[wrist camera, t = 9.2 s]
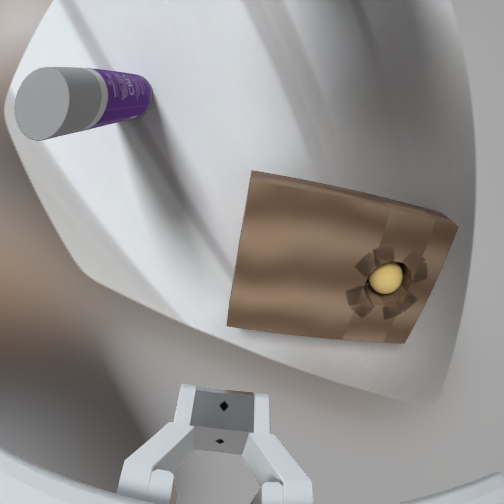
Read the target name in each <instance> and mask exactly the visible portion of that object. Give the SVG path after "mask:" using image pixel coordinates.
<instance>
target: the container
mask: <svg viewBox="0 0 504 504" xmlns="http://www.w3.org/2000/svg"><path fill="white" fill-rule="evenodd" d="M151 101H152V88H151V86H150V84H149V82H148V81H147V80H146V79H145V78H144V77H142V76H139V75H135V74H129V73H123V72H116V71H108V70H100V69H91V68H72V67H43V68H39V69H37V70H35V71H33V72H32V73H30V74H29V75H28V76H27V77H26V78H25V80H24V81H23V82H22V84H21V86H20V88H19V90H18V92H17V95H16V99H15V118H16V122H17V125H18V127H19V129H20V130H21V132H22V133H23V134H24V135H25V136H26V137H28V138H30V139H32V140H36V141H41V140H46V139H50V138H54V137H58V136H62V135H66V134H70V133H75V132H79V131H84V130H88V129H92V128H96V127H100V126H104V125H108V124H112V123H117V122H121V121H126V120H131V119H135V118H137V117H139V116H141V115H143V114H144V113H145V112H146V111H147V109H148V108H149V106H150V104H151Z"/></svg>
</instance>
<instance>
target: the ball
mask: <svg viewBox="0 0 504 504" xmlns="http://www.w3.org/2000/svg"><path fill="white" fill-rule="evenodd" d="M402 277H403V273H402V269H401V267H400V265H399V264H398V263H397V262H395V261H390V262H387V263H384V264H382V265H379V266H378V267H377V268H376V269H375V270H374V271H372V272H371V273H370V274H369V275H368V280H369V283H370V285H371V287H372V288H373V289H374V290H375V291H377V292H379V293H382V294H388V293H392V292H394V291H395V290H396V289H397V288H398V287H399V286H400V284H401V282H402Z"/></svg>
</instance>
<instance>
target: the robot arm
mask: <svg viewBox="0 0 504 504" xmlns="http://www.w3.org/2000/svg"><path fill="white" fill-rule="evenodd" d="M269 403H270V402H269V395H268V394H259V393H252V392H241V391H230V390H219V389H212V388H206V387H199V386H194V385H187V384H182V386H181V389H180V393H179V398H178V403H177V408H176V413H175V418H174V423H172V422H169V423H168V424H167V425H165V426H164V427H163V428H162V429H161V430H160V431H159V432H157V433H156V434H155V435H154V436H153V437H152V438H151V439H149V440H148V441H147V442H146V443H145V444H144V445H143V446H141V447H140V448H139V449H138V450H137V451H135V452H134V453H133V454H132V455H131V456H129V457H128V458H127V459H126V460H125V462H124V466H123V470H122V474H121V478H120V481H119V485H118V489H117V493H116V494H115V493H111V492H108V491H105V490H101V489H98V488H95V487H92V486H89V485H86V484H83V483H80V482H78V481H75V480H72V479H69V478H67V477H64V476H62V475H59V474H57V473H54V472H52V471H49V470H47V469H45V468H43V467H40V466H38V465H36V464H34V463H31V462H29V461H27V460H25V459H23V458H21V457H19V456H17V455H15V454H13V453H11V452H9V451H7V450H6V449H4V448H2V447H0V504H176V499H177V492H176V486H175V480H174V476H173V473H174V472H175V471H176V470H177V468H179V467H180V465H181V464H182V463H183V462H184V461H185V460H186V459H187V458H188V457H189V455H191V453H192V452H193V451H194V449H197V450H206V451H216V452H224V453H232V454H241V455H242V457H243V459H244V461H245V462H246V464H247V466H248V467H249V469H250V470H251V472H252V474H253V475H254V477H255V478H256V480H257V482H258V484H259V485H260V487H261V488H260V489H259V491H258V493H257V494H256V495H255V497H254V498H253V500H252V502H251V504H313V493H312V482H311V480H310V479H309V478H308V476H307V475H306V474H305V473H304V472H303V470H302V469H301V468H300V467H299V465H298V464H297V463H296V461H295V460H294V459H293V458H292V456H291V455H290V454H289V453H288V451H287V450H286V449H285V448H284V446H283V445H282V443H281V442H280V441H279V440H278V438H277V437H276V436H275V435H274V434H270V404H269ZM396 504H504V474H503V473H501V472H496V473H492V474H490V475H487V476H485V477H482V478H480V479H477V480H475V481H472V482H469V483H467V484H464V485H461V486H458V487H455V488H452V489H449V490H445V491H442V492H439V493H436V494H432V495H428V496H425V497H421V498H417V499H413V500H409V501H405V502H400V503H396Z"/></svg>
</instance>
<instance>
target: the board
mask: <svg viewBox="0 0 504 504" xmlns="http://www.w3.org/2000/svg"><path fill="white" fill-rule="evenodd" d="M457 229H458V226H457V225H456V224H455V223H454V222H452V221H451V220H450V219H448V218H447V217H446V216H444V215H443V214H442V213H440V212H436V211H433V210H429V209H426V208H422V207H418V206H415V205H411V204H407V203H403V202H399V201H395V200H391V199H388V198H383V197H379V196H375V195H371V194H367V193H363V192H358V191H354V190H350V189H345V188H340V187H336V186H331V185H326V184H322V183H317V182H312V181H307V180H302V179H297V178H291V177H286V176H281V175H275V174H269V173H264V172H258V171H252V172H251V177H250V183H249V189H248V195H247V200H246V206H245V212H244V218H243V224H242V230H241V236H240V242H239V248H238V254H237V260H236V266H235V272H234V278H233V284H232V290H231V296H230V302H229V310H228V318H227V326H229V327H236V328H243V329H250V330H257V331H265V332H273V333H281V334H290V335H299V336H309V337H319V338H330V339H341V340H354V341H368V342H383V343H403V344H404V343H405V342H406V340H407V338H408V336H409V334H410V333H411V331H412V329H413V327H414V325H415V323H416V321H417V319H418V317H419V315H420V313H421V312H422V310H423V308H424V306H425V303H426V301H427V299H428V297H429V295H430V293H431V291H432V289H433V287H434V285H435V282H436V280H437V278H438V276H439V273H440V271H441V269H442V267H443V264H444V262H445V259H446V257H447V255H448V252H449V250H450V247H451V245H452V242H453V240H454V237H455V234H456V232H457ZM390 261H395V262H399V265H400V267H401V269H402V273H403V277H402V282H401V284H400V286H399V287H398V288H397V289H396V290H395V291H394V292H392V293H388V294H382V293H379V292H377V291H375V290H374V289H373V288H372V287H371V286H366V285H365V283H366V280H367V278H368V275H369V274H370V273H371V272H372V271H374V270H375V269H376V268H377V267H378V266H379V265H382V264H384V263H387V262H390Z"/></svg>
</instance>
